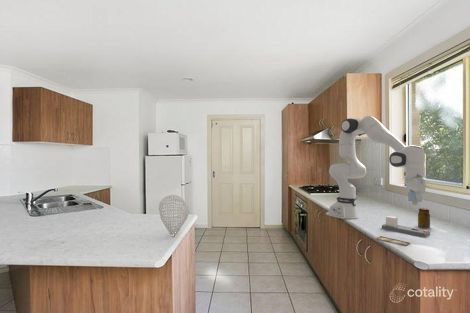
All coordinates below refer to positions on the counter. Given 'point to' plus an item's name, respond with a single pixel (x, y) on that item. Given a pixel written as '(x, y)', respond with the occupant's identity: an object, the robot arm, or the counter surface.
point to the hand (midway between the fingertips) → (414, 198)
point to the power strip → (407, 230)
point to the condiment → (424, 218)
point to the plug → (392, 221)
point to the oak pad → (393, 241)
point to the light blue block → (414, 198)
